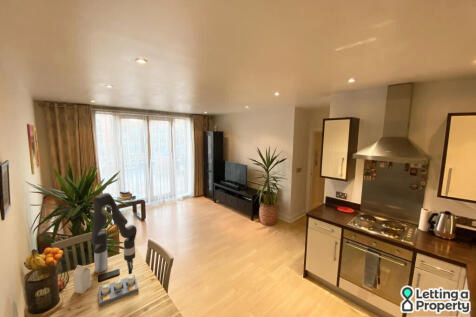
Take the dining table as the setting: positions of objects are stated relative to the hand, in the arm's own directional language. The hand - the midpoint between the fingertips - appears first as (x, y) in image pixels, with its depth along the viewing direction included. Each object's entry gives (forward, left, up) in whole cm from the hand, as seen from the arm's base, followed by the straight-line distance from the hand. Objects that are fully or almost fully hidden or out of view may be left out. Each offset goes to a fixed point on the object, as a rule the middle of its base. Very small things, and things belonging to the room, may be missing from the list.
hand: (130, 273), depth 150 cm
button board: (0, -8, -11) cm, 14 cm away
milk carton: (-17, -30, -12) cm, 36 cm away
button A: (0, -16, -8) cm, 18 cm away
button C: (0, 0, -8) cm, 8 cm away
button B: (0, -8, -8) cm, 11 cm away
